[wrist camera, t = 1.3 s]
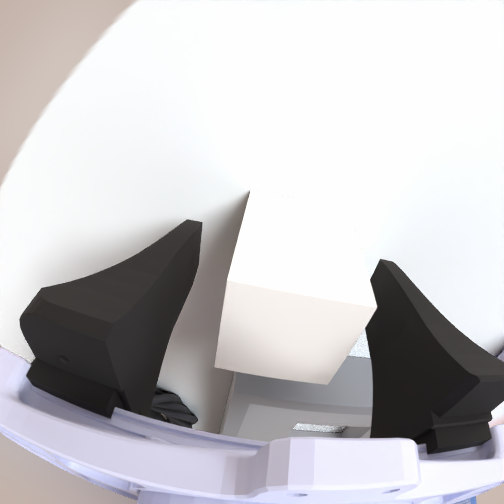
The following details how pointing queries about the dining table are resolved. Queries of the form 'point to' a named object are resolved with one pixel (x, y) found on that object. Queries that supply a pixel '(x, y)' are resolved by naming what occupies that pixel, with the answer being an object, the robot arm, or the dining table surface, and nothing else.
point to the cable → (170, 409)
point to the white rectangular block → (293, 291)
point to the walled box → (300, 404)
